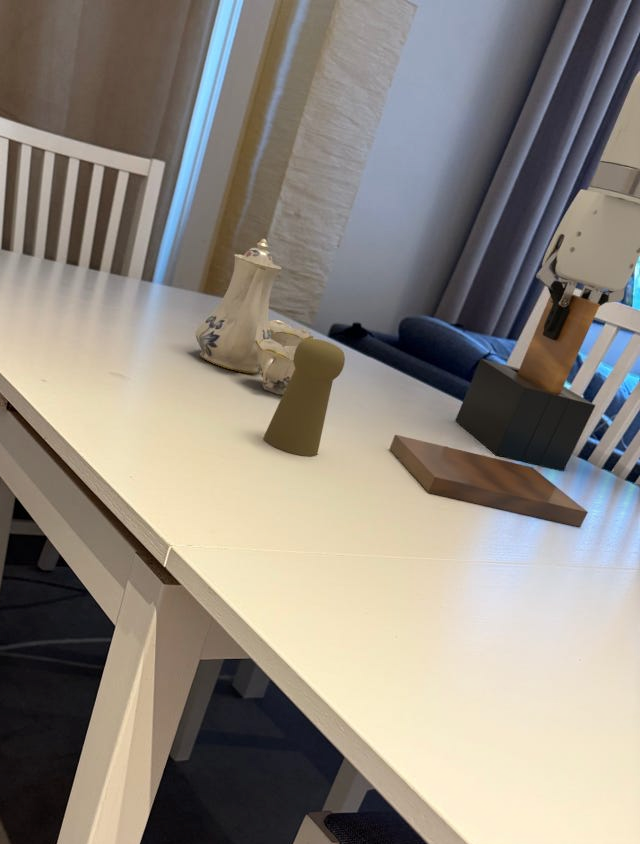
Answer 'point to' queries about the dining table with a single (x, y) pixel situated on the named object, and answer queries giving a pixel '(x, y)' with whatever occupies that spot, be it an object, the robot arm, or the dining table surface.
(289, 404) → the cork
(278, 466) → the dining table surface
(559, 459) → the grooved black box
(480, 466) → the breadboard
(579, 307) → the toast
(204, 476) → the dining table surface
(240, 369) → the chinaware
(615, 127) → the robot arm
